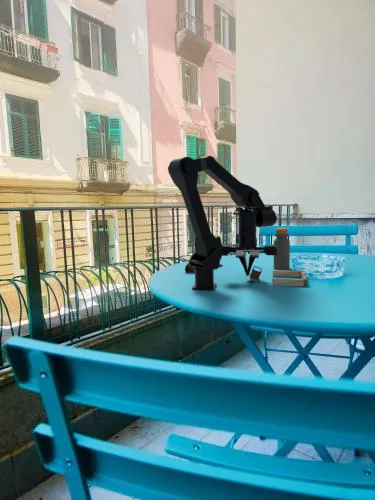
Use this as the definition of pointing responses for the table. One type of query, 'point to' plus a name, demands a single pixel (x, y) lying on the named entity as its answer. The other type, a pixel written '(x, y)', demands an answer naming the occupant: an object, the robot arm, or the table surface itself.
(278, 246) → the bottle
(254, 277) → the strap clip
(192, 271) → the sweet potato
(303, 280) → the display frame
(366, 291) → the table surface
